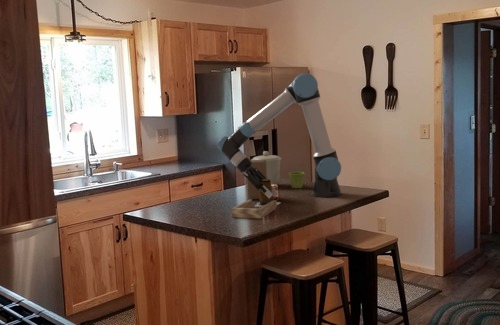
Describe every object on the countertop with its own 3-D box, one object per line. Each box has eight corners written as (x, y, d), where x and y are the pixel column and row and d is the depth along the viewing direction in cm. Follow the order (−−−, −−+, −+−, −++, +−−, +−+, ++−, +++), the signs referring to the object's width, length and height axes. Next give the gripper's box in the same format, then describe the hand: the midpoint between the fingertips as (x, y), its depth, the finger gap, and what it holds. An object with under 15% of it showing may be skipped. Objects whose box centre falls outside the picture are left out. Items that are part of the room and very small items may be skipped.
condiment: (269, 201, 262) (268, 178, 260) (277, 204, 254) (276, 180, 253) (256, 203, 259) (255, 179, 257) (263, 206, 251) (262, 182, 250)
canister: (246, 187, 312) (244, 152, 309) (266, 182, 325) (264, 149, 322) (269, 189, 300) (267, 153, 297) (288, 184, 313) (287, 149, 310)
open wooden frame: (276, 208, 248) (276, 200, 248) (260, 218, 230) (260, 209, 229) (249, 207, 254) (249, 199, 253) (232, 217, 235) (231, 208, 235)
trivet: (280, 203, 260) (280, 202, 260) (273, 207, 251) (273, 206, 250) (262, 202, 264) (261, 201, 264) (254, 206, 254) (254, 205, 254)
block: (268, 195, 282) (266, 159, 279) (266, 199, 272) (264, 161, 269) (249, 196, 283) (247, 159, 280) (247, 199, 273) (245, 162, 270)
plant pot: (307, 186, 303) (306, 171, 302) (302, 189, 295) (301, 174, 294) (292, 186, 307) (291, 171, 306) (286, 189, 298) (286, 174, 297)
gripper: (244, 164, 270) (275, 196, 265) (228, 170, 252) (261, 204, 248) (253, 154, 267) (284, 186, 262) (238, 159, 249) (271, 193, 245)
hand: (273, 195), depth 255 cm, fingers closed on condiment, 6 cm apart
